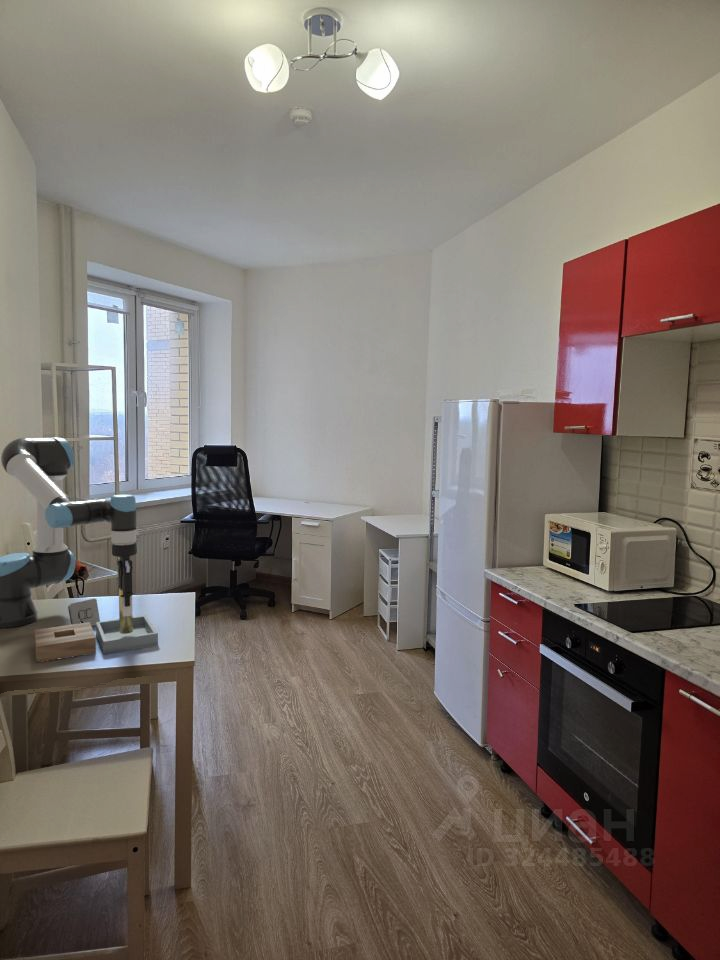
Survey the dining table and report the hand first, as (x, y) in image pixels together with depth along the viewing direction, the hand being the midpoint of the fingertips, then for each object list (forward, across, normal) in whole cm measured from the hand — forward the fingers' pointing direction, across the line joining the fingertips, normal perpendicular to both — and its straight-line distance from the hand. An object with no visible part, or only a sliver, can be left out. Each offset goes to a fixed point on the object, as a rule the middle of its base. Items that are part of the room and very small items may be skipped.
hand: (125, 613), depth 193 cm
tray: (+9, 0, 0) cm, 9 cm away
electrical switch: (+9, +20, +11) cm, 25 cm away
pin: (+6, 0, 0) cm, 6 cm away
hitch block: (+9, 0, +18) cm, 20 cm away
